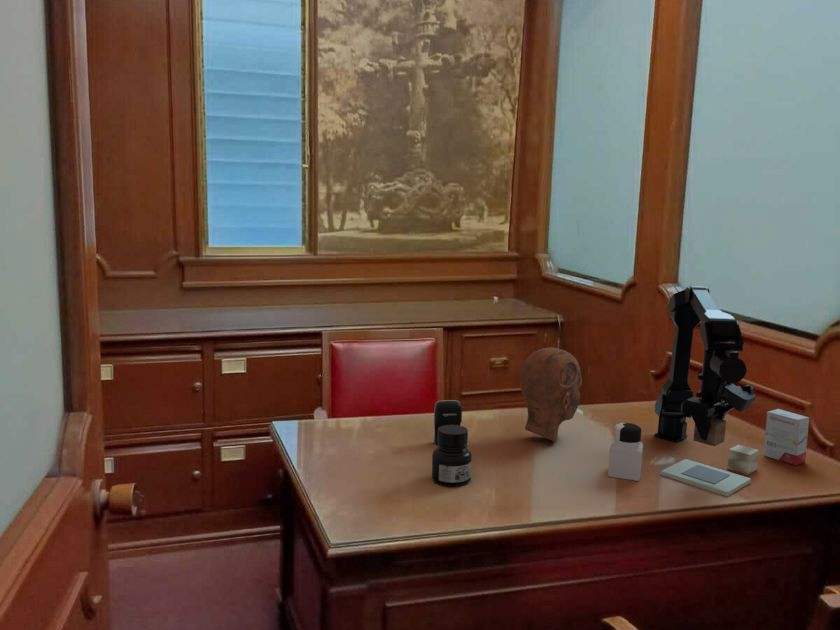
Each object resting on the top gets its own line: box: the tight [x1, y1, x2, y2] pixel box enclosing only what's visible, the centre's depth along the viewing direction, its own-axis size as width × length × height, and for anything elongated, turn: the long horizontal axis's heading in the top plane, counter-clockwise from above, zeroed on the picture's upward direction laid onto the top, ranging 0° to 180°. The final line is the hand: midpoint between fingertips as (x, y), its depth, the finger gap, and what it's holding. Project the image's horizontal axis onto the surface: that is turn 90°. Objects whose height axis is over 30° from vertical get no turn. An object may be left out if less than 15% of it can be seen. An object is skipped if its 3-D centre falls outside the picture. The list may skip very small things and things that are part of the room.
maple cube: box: [727, 444, 760, 475], centre depth 180 cm, size 5×5×5 cm
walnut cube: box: [693, 418, 727, 447], centre depth 171 cm, size 5×5×5 cm
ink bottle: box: [431, 425, 473, 487], centre depth 168 cm, size 10×9×12 cm
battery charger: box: [433, 399, 463, 445], centre depth 191 cm, size 7×4×11 cm, turn 98°
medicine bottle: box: [607, 422, 644, 482], centre depth 174 cm, size 7×7×12 cm
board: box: [660, 458, 752, 497], centre depth 173 cm, size 16×12×1 cm
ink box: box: [763, 408, 810, 466], centre depth 186 cm, size 9×5×12 cm, turn 33°
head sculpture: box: [519, 346, 583, 442], centre depth 196 cm, size 16×18×25 cm
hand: (709, 436), depth 172 cm, fingers closed on walnut cube, 5 cm apart
